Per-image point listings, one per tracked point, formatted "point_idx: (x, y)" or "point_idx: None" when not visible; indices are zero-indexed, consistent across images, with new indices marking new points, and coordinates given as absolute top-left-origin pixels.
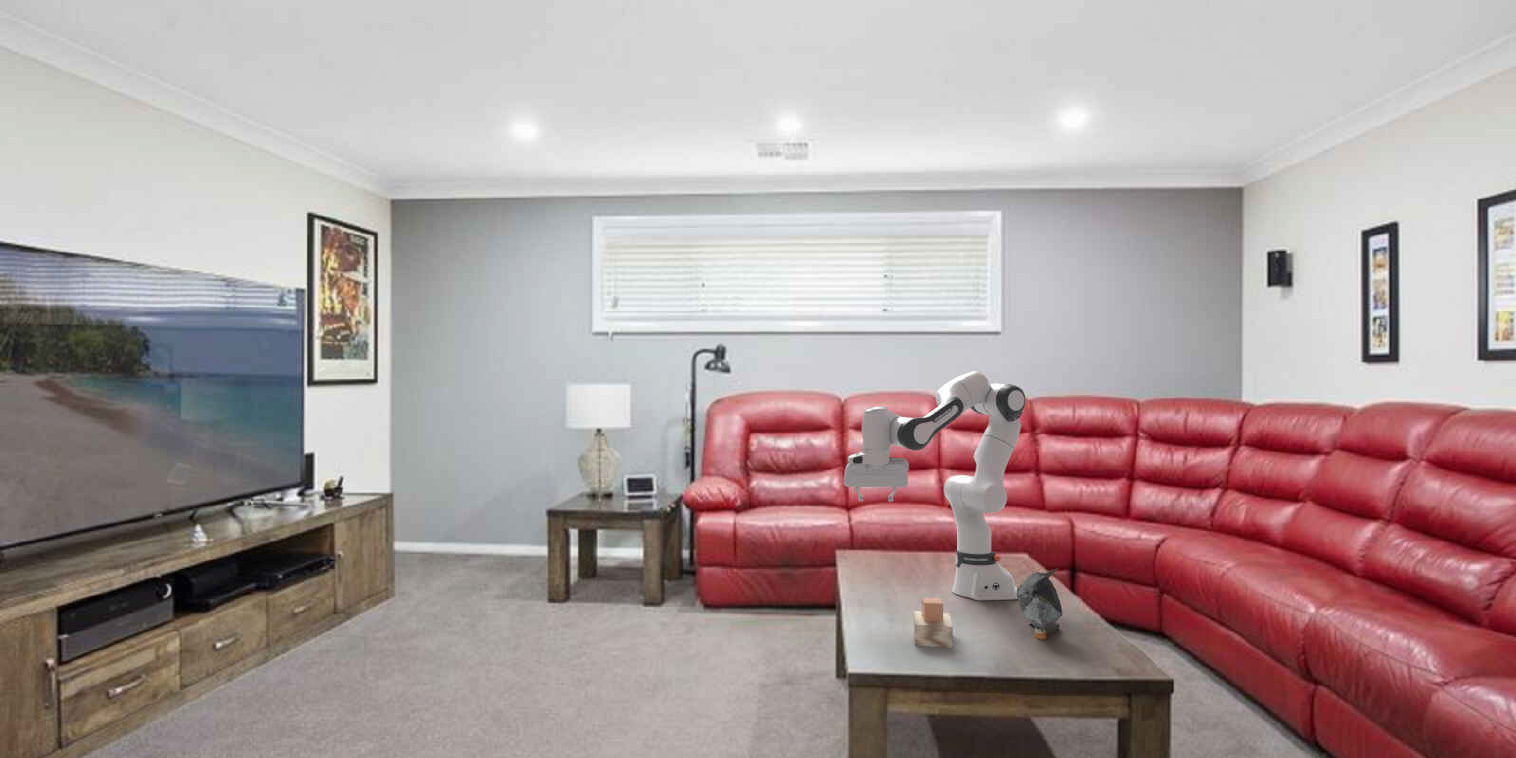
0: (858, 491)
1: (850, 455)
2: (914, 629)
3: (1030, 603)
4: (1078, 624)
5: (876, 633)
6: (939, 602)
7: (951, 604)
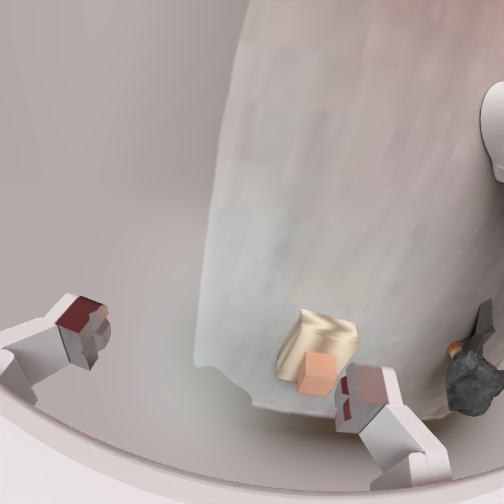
0: (29, 361)
1: None
2: (284, 351)
3: (447, 396)
4: None
5: (233, 309)
6: (323, 393)
7: (444, 185)
